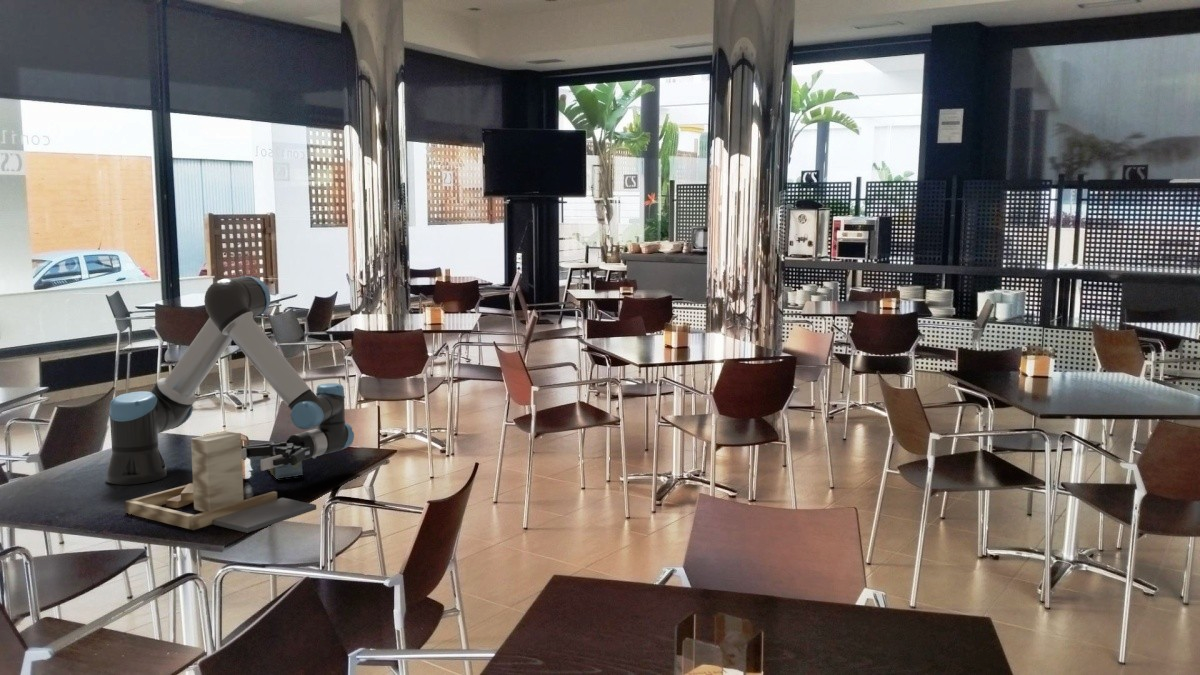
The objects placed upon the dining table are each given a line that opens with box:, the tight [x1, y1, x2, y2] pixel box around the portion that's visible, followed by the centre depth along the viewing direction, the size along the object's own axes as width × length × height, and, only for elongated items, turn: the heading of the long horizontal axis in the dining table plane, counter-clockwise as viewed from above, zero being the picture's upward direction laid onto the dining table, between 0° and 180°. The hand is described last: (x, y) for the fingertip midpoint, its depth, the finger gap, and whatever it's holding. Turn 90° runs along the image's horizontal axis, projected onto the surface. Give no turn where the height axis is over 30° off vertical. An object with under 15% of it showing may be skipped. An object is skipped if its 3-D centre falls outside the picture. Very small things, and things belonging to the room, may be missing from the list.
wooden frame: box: [124, 484, 278, 531], centre depth 236 cm, size 26×24×3 cm
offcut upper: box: [181, 482, 194, 501], centre depth 241 cm, size 3×9×2 cm, turn 12°
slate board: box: [212, 497, 317, 534], centre depth 229 cm, size 12×21×1 cm, turn 150°
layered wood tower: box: [190, 430, 245, 513], centre depth 237 cm, size 6×10×18 cm, turn 150°
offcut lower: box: [165, 495, 194, 509], centre depth 242 cm, size 4×11×2 cm, turn 162°
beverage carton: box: [262, 452, 304, 480], centre depth 272 cm, size 8×19×7 cm, turn 29°
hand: (242, 461), depth 242 cm, fingers open, 13 cm apart
